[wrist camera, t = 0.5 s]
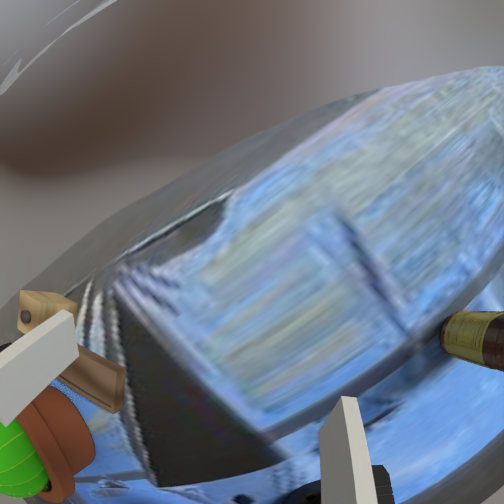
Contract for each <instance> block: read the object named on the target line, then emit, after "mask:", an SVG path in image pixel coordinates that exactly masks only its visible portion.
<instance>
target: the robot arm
mask: <svg viewBox="0 0 504 504" xmlns="http://www.w3.org/2000/svg"><path fill="white" fill-rule="evenodd" d="M77 357H79V352H78V346H77V339H76V333H75V325H74V317H73V314H71V313H70V312H68V311H66V310H64V309H63V310H61V311H60V312H58V313H57V314H55V315H54V316H52V317H51V318H49V319H48V320H46V321H45V322H43V323H42V324H40V325H39V326H37V327H36V328H34V329H33V330H31V331H30V332H28V333H27V334H26V335H24V336H23V337H21V338H20V339H18V340H17V341H16V342H14V343H13V344H12V343H11V342H10V343H7V344H4V345H2V346H0V422H1V423H2V424H3V425H4V426H5V427H7V426H8V425H9V424H10V423H11V422H12V420H13V419H14V418H15V417H16V416H17V415H18V414H19V413H20V412H21V411H22V410H23V409H24V408H25V407H26V406H27V405H28V404H29V403H30V402H31V401H32V400H33V399H34V398H35V397H36V396H37V395H38V394H39V393H41V392H42V391H43V390H44V389H45V388H46V387H47V386H48V385H49V384H50V383H51V382H52V381H53V380H54V379H55V378H56V377H57V376H58V375H59V374H60V373H61V372H62V371H64V370H65V369H66V368H67V367H68V366H69V365H70V364H71V363H72V362H73V361H74V360H75V359H76V358H77ZM319 446H320V469H321V480H320V481H316V482H313V483H310V484H308V485H305V486H303V487H301V488H299V489H297V490H296V491H294V492H293V493H291V494H290V495H289V496H288V497H287V498H286V499H285V500H284V501H283V503H282V504H395V502H394V496H393V495H392V493H393V491H392V487H391V481H390V477H389V473H388V472H387V471H386V469H385V468H384V466H383V465H371V461H370V456H369V451H368V446H367V441H366V437H365V432H364V428H363V423H362V419H361V414H360V410H359V406H358V402H357V398H355V397H346V396H341V397H340V399H339V401H338V402H337V404H336V405H335V407H334V409H333V410H332V412H331V414H330V415H329V417H328V418H327V420H326V421H325V423H324V424H323V426H322V427H321V429H320V430H319Z"/></svg>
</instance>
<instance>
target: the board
mask: <svg viewBox="0 0 504 504" xmlns="http://www.w3.org/2000/svg"><path fill="white" fill-rule="evenodd" d="M77 346H78V352H79V357H77V358H76V359H75V360H74V361H73V362H72V363H71V364H70V365H69V366H68V367H67V368H66V369H65V370H64V371H62V372H61V373H60V374H59V375H58V376H57V377H56V378H57V379H58V380H60V381H61V382H62V383H64V384H65V385H67V386H68V387H70V388H71V389H73V390H74V391H76V392H77V393H79V394H81V395H82V396H84V397H85V398H87V399H89V400H90V401H92V402H94V403H95V404H97V405H99V406H100V407H102V408H104V409H106V410H108V411H109V412H111V413H113V414H114V413H116V412H118V411H119V410H121V409H122V408H123V397H124V385H125V376H126V368H124V367H122V366H120V365H118V364H116V363H113V362H111V361H109V360H107V359H105V358H103V357H101V356H99V355H97V354H96V353H94V352H92V351H90V350H88V349H86V348H84V347H83V346H81V345H79V344H77Z"/></svg>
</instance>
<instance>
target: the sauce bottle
mask: <svg viewBox="0 0 504 504" xmlns="http://www.w3.org/2000/svg"><path fill="white" fill-rule="evenodd" d="M440 340H441V344H442V347H443V349H444V351H445V352H446V353H447V354H450V355H451V356H453V357H455V358H458V359H461V360H464V361H467V362H471V363H474V364H477V365H480V366H483V367H487V368H490V369H497V370H500V371H503V372H504V311H503V312H499V311H461V312H457V313H455V314H453V315H451V316H450V317H449V318H448V319H447V320H446V321H445V323H444V325H443V328H442V331H441V335H440Z"/></svg>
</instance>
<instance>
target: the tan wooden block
mask: <svg viewBox="0 0 504 504" xmlns="http://www.w3.org/2000/svg"><path fill="white" fill-rule="evenodd" d="M63 309H64V310H66V311H68V312H70V313H71V314H73V317H74V325H75V319H76V311H77V303H75V302H73V301H71V300H69V299H67V298H65V297H63V296H61V295H59V294H57V293H54V292H38V291H24V290H21V291H20V300H19V311H18V329H19V330H20V331H21V332H23V333H24V334H25V335H26V334H27V333H28V332H30V331H31V330H33V329H34V328H36V327H37V326H39V325H40V324H42V323H43V322H45V321H46V320H48V319H49V318H51V317H52V316H54V315H55V314H57V313H58V312H60V311H61V310H63Z"/></svg>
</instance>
